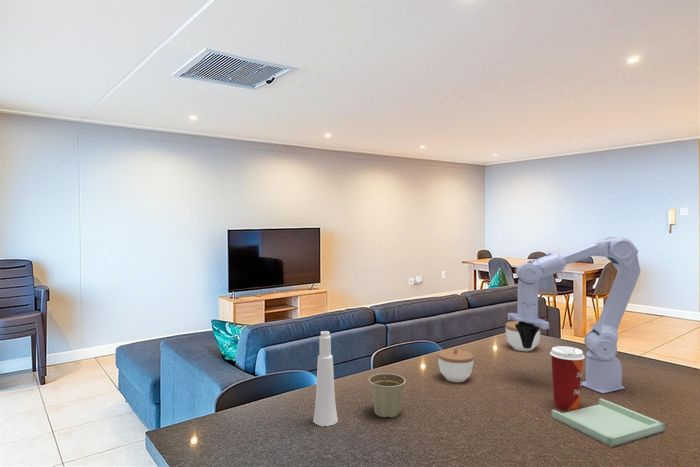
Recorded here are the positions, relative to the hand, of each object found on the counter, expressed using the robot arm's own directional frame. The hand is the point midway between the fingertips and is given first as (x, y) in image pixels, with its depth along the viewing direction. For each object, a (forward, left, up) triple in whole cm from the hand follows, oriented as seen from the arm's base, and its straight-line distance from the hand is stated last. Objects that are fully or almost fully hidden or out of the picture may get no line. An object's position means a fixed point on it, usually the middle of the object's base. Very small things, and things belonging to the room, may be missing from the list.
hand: (527, 347), depth 136 cm
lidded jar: (+18, -11, -11) cm, 24 cm away
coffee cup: (+4, +18, -11) cm, 21 cm away
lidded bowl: (-25, -27, -11) cm, 38 cm away
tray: (+4, +29, -10) cm, 31 cm away
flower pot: (+49, +2, -11) cm, 50 cm away
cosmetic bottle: (+65, 0, -11) cm, 66 cm away
